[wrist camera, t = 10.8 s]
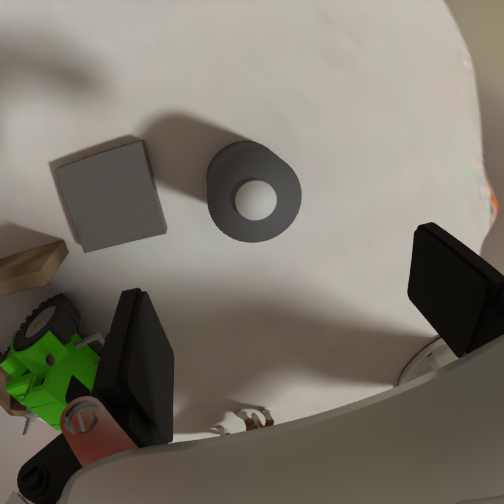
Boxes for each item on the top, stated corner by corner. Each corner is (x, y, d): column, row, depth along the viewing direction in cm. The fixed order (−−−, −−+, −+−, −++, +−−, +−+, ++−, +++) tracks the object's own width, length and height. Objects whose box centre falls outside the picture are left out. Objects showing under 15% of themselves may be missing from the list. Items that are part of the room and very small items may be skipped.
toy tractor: (-5, 330, 26) (-39, 394, 17) (84, 275, 24) (44, 357, 16) (56, 390, 31) (37, 455, 22) (152, 356, 30) (145, 440, 21)
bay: (63, 239, 22) (39, 270, 18) (136, 380, 31) (131, 416, 26) (-51, 277, 22) (-74, 302, 17) (21, 386, 30) (10, 415, 25)
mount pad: (143, 139, 20) (141, 141, 19) (167, 228, 24) (165, 233, 23) (60, 166, 20) (55, 169, 19) (88, 247, 23) (84, 253, 22)
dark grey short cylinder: (276, 135, 22) (297, 146, 17) (286, 206, 24) (306, 234, 20) (199, 149, 21) (198, 164, 17) (215, 220, 24) (218, 253, 19)
